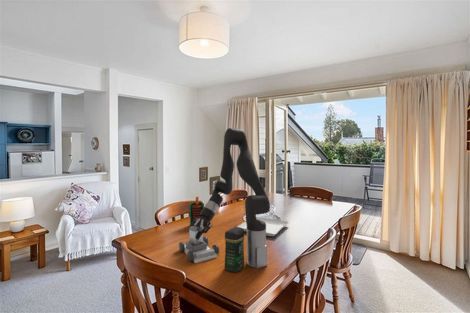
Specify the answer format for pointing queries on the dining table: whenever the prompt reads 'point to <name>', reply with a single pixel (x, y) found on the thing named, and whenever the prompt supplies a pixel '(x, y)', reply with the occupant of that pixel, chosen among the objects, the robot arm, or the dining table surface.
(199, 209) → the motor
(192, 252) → the car chassis
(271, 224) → the square plate
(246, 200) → the robot arm
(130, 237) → the dining table surface
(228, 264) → the coffee jar
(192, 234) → the grey-topped square pillar
